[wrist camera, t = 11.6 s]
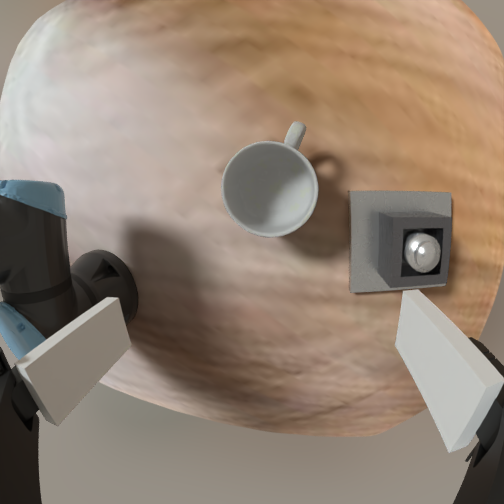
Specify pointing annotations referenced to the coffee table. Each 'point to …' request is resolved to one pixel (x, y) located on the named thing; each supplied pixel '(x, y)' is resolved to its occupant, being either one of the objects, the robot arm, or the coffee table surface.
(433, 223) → the grey square hollow block
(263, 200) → the teacup
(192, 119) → the coffee table surface
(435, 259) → the grey plate with post
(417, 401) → the coffee table surface
